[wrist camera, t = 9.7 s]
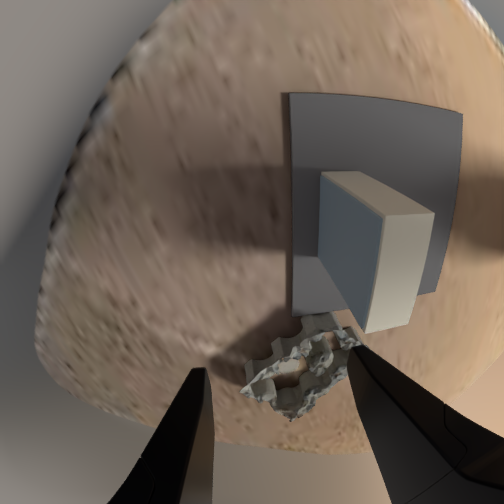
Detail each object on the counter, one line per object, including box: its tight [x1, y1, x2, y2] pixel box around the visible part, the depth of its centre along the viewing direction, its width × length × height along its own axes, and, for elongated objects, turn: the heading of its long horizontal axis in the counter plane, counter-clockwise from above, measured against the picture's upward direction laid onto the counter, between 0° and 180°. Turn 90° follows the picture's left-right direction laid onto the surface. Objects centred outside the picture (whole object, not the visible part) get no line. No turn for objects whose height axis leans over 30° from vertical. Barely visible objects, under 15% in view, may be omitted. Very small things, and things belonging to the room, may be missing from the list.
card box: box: [318, 171, 435, 334], centre depth 15 cm, size 3×6×8 cm, turn 3°
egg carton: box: [239, 311, 369, 422], centre depth 24 cm, size 11×8×4 cm
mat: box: [288, 93, 463, 317], centre depth 19 cm, size 14×16×1 cm
